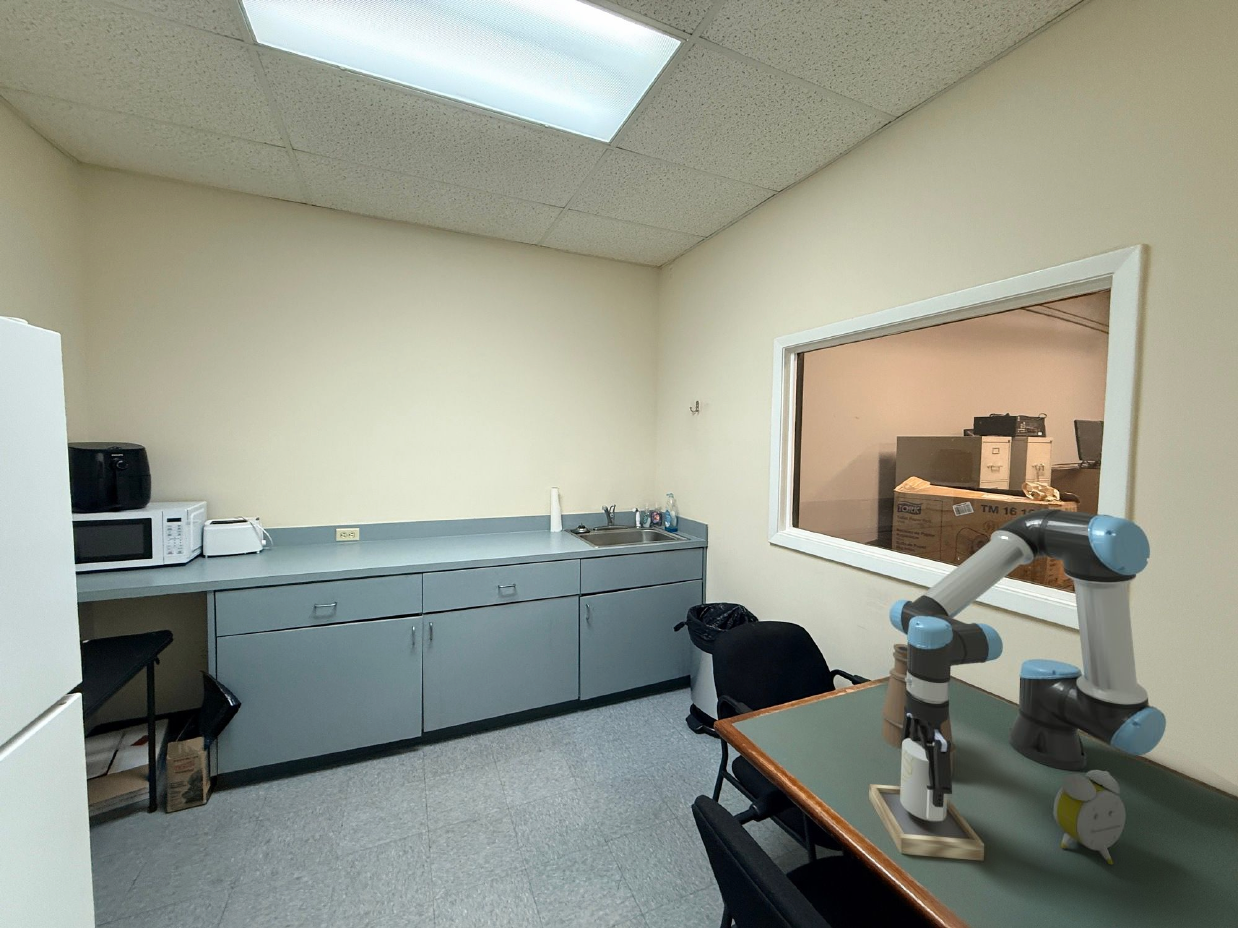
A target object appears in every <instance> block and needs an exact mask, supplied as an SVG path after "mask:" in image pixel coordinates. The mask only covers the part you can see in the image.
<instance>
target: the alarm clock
mask: <svg viewBox="0 0 1238 928" xmlns="http://www.w3.org/2000/svg"><path fill="white" fill-rule="evenodd" d="M1086 776H1087V777H1086ZM1119 794H1120V786H1119V783H1118V782H1117V781H1116V779H1115V778H1114V777H1113V776H1112V775H1111V774H1110V772H1109V771H1106V770H1105V771H1103V770H1099V769H1092V770H1089V771H1088V772H1086V774H1085V776H1083V775H1081V774H1078V773H1077V774H1076V773H1071V774H1068V775H1066V776H1065V777H1064V778H1063V780H1062V786H1061V787H1060V788H1059V790H1058V792H1057V793H1056V796H1055V798H1054V804H1053V817H1054V821H1055V822H1056V824H1057V826H1058V827H1059V829H1061V830H1062V831H1063V832H1064V834H1063V837H1062V841H1061V843H1060V846H1059V847H1061V848H1062V849H1064V850H1066V849H1067V848H1068V847H1069V846H1070V845H1071V844H1072V843H1073V842H1074V841H1076V842H1078V843H1080V844H1081V845H1082V846H1084V847H1086V848H1088V849H1089V850H1093V851H1099V853H1100V854H1101V855H1102V857H1103V858H1104V860H1105V861H1106V862H1107V864H1108V865H1113V864H1114V862H1113V859H1112V857H1111V855H1110V852H1109V850H1108V848H1110V847H1112V846H1113V845H1115V843H1116V842H1117V841H1118V840H1119V839H1120V836H1121V835H1122V832H1123V831H1124V827H1125V823H1126V817H1127V816H1126V814H1127V813H1126V808H1125V805H1124V802H1123V801H1122V799H1121V798H1120V796H1118V795H1119Z"/></svg>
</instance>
